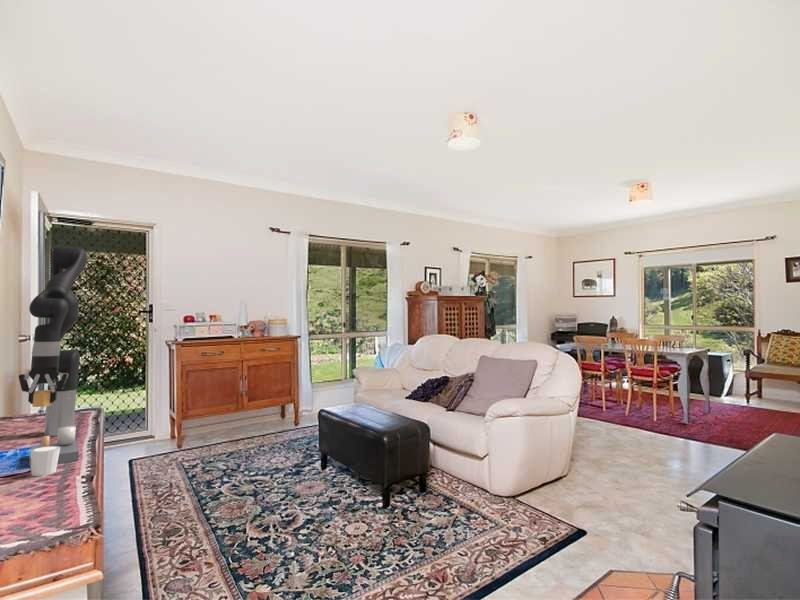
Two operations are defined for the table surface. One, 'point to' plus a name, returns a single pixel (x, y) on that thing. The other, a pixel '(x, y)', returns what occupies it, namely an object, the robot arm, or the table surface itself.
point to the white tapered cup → (44, 460)
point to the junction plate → (62, 445)
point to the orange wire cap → (41, 398)
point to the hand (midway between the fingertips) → (42, 402)
